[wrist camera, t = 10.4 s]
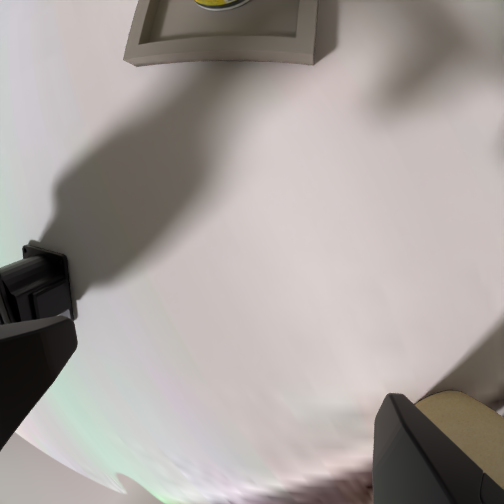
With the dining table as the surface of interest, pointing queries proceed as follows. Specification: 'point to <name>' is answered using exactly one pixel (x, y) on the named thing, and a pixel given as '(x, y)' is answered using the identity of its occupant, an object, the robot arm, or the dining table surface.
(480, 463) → the plant pot
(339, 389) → the dining table surface
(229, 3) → the supplement bottle
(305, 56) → the tray
